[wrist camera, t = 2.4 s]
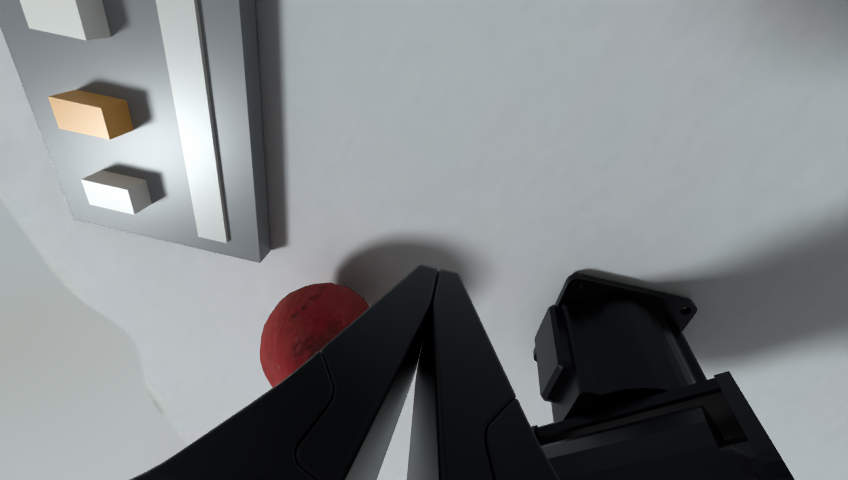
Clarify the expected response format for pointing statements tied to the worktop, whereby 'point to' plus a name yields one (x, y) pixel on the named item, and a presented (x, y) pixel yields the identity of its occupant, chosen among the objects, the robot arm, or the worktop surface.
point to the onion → (305, 326)
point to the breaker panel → (153, 114)
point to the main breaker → (91, 114)
